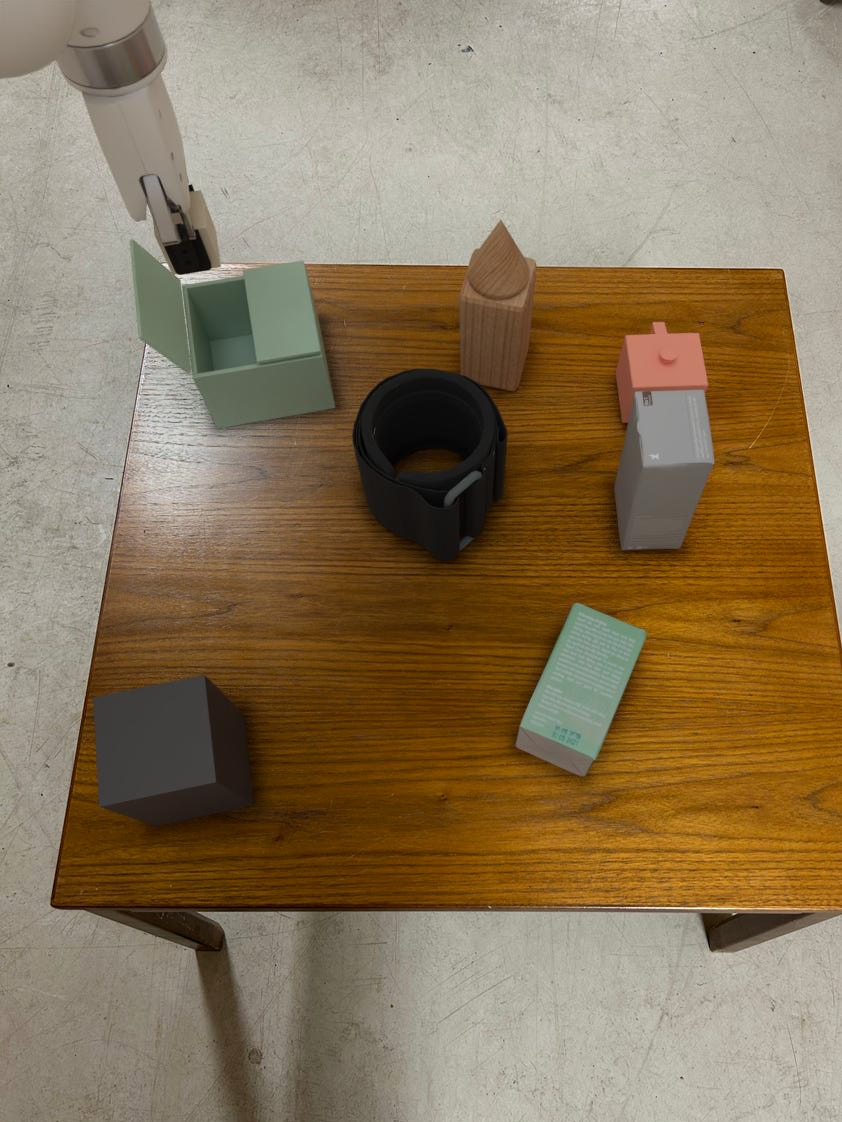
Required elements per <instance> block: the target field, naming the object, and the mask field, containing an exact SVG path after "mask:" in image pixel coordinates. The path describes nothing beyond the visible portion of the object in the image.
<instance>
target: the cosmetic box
mask: <svg viewBox="0 0 842 1122" xmlns="http://www.w3.org/2000/svg"><path fill="white" fill-rule="evenodd" d="M707 404H708V403H707V398H706V392H704V390H677V391H639V392H635V394H634V398H633V402H632V407H631V412H630V416H629V421H628V423H627V427H626V431H625V437H624V441H623V443H622V444H623V445H622V448H621V455H620V459H619V464H618V467H617V473H616V477H615V481H614V485H613V491H614V500H615V507H616V508H615V511H616V519H617V527H618V537H619V542H620V544H619V545H620V550H621V551H635V550H636V551H637V550H639V551H640V550H665V549H666V550H667V549H668V550H669V549H670V550H678V549H680V548H681V549H682V547H683V543H684V540H685V538H686V536H687V533H688V530H689V527H690V525H691V523H692V520H693V517H694V515H695V513H696V510H697V508H698V505H699V502H700V500H701V498H702V495H703V492H704V490H705V487H706V485H707V482H708V480H709V477H710V475H711V472H712V470H713V467H714V465H715V463H716V462H715V456H714V455H715V453H714V446H713V438H712V430H711V424H710V417H709V411H708V405H707Z"/></svg>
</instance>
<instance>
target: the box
mask: <svg viewBox="0 0 842 1122" xmlns="http://www.w3.org/2000/svg"><path fill="white" fill-rule="evenodd" d="M647 635H648V634H647V632H646V630H645V629H643V628H640V627H637V626H634V625H632V624H630V623H628V622H626V621H622V620H620V619H619V618H616V617H613V616H611V615H608V614H606V613H604V612H602V611H599V610H596V609H594V608H591V607H589V606H587V605H585V604H582V603H580V602H574V603H573V604H572V606H571V607H570V610H569V613H568V614H567V617H566V620H565V622H564V624H563V626H562V628H561V630H560V632H559V634H558V637H557V639H556V642H555V644H554V646H553V649H552V651H551V653H550V655H549V657H548V660H547V662H546V665H545V667H544V669H543V671H542V673H541V676H540V677H539V680H538V682H537V684H536V687H535V689H534V691H533V693H532V695H531V697H530V700H529V702H528V705H527V706H526V708H525V710H524V713H523V715H522V718H521V720H520V723H519V726H518V732H517V736H516V740H515V745H514V746H515V747H516V749H519V750H520V751H523V752H525V753H527V754H529V755H531V756H534V757H536V758H538V759H541V760H543V761H545V762H547V763H549V764H551V765H553V766H556V767H558V768H560V769H562V770H565V771H567V772H570V773H572V774H574V775H577V776H579V777H586V776H587V774H588V772H589V771H590V770H591V767H592V766H593V764H594V763H595V761H596V759H597V758H598V757H599V754H600V752H601V750H602V747H603V744H604V742H605V739H606V738H607V736H608V732H609V730H610V728H611V725H612V722H613V720H614V717H615V715H616V712H617V710H618V708H619V705H620V703H621V701H622V698H623V695H624V693H625V691H626V688H627V685H628V683H629V681H630V678H631V675H632V673H633V670H634V669H635V666H636V664H637V661H638V658H639V656H640V653H641V651H642V648H643V645H644V644H645V641H646V640H647Z"/></svg>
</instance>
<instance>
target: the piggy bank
mask: <svg viewBox="0 0 842 1122" xmlns="http://www.w3.org/2000/svg"><path fill="white" fill-rule="evenodd" d="M615 379H616V388H617V395H618V401H619V409H620V410H619V411H620V417H621V423H622V424H628V421H629V416H630V412H631V407H632V402H633V398H634V394H635V392H639V391H677V390H704V392H705V393H706V392H707V389H708V387H709V381H708V376H707V371H706V365H705V360H704V355H703V349H702V343H701V337H700V332H680V333H679V332H677V333H674V332H673V333H668V330H667V327H666V322H665V321H652V323H651V326H650V330H649V333H648V334H626V335H624V339H623V342H622V346H621V349H620V353H619V358H618V361H617V364H616V369H615Z"/></svg>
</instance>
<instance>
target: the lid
mask: <svg viewBox="0 0 842 1122" xmlns="http://www.w3.org/2000/svg"><path fill="white" fill-rule="evenodd" d="M129 248H130V259H131V260H130V261H131V270H132V282H133V292H134V293H133V294H134V304H135V316H136V325H137V336H138V339H139V340H141V341H142V342H143V343H145V344H146V345H147V346H149V347H150V348H152V349H153V351H155V352H157V353H158V354H160V355H161V356H163V357H164V358H165V359H166V360H168V361H169V362H171V363H172V364H174V366H177V368H179V369H180V370H182V371H184V373H186V374H187V375H190V374H192V368H191V359H190V351H189V342H188V334H187V325H186V317H185V309H184V300H183V292H182V281H181V279H180V278H179V277H178V276H177V275H176V274H174V275H172V273H171V271H170V269H168V268H167V267H166V266H165V265H164V264H162V263H161V262H160V261H159V260H158V259H156V257H154V256H153V255H152V254H151V253H150V252H149V251H148V250H146V249H145V248H144V247H143V246H142V245H140V243H138V242H137V241H136V240H135V239H134V238H131V239H130V240H129Z"/></svg>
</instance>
